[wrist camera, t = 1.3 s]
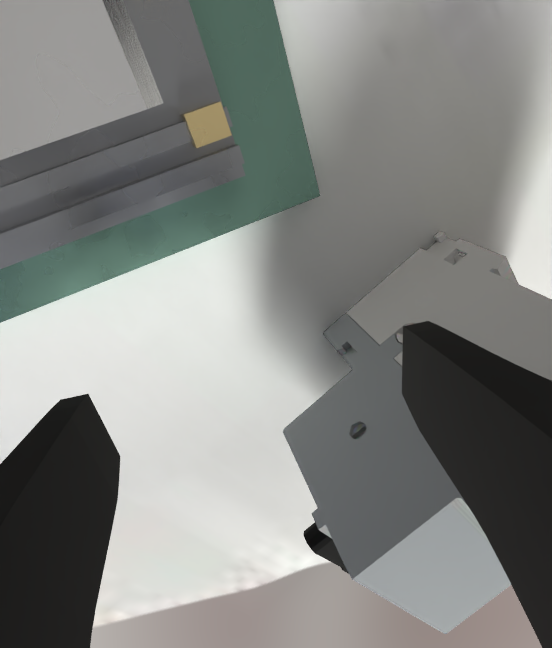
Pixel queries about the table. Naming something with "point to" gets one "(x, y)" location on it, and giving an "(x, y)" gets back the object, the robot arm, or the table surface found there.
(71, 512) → the robot arm
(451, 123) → the table surface
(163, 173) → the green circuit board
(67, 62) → the grey flat bar
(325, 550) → the circuit breaker
